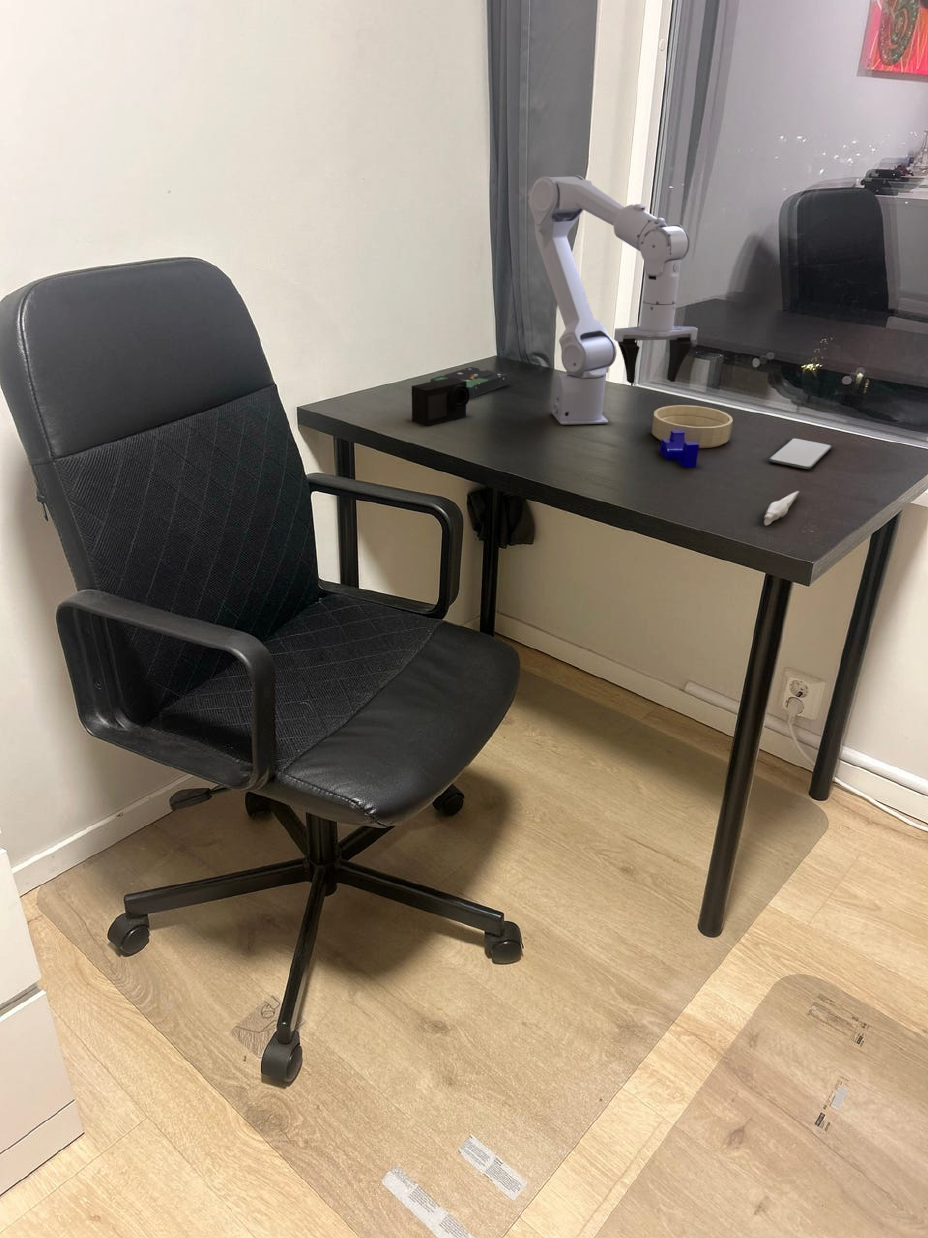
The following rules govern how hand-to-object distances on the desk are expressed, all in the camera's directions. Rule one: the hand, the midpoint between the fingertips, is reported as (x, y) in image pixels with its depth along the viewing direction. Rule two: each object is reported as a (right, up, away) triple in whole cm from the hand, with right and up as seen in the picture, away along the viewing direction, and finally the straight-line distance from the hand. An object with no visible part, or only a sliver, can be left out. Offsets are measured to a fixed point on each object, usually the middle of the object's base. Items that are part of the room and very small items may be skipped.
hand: (650, 381), depth 158 cm
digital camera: (-38, -4, +13) cm, 40 cm away
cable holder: (+4, -15, -5) cm, 17 cm away
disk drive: (-33, +7, +33) cm, 47 cm away
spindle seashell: (+15, -27, -25) cm, 39 cm away
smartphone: (+26, -14, -2) cm, 30 cm away
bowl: (+9, -9, +6) cm, 14 cm away
